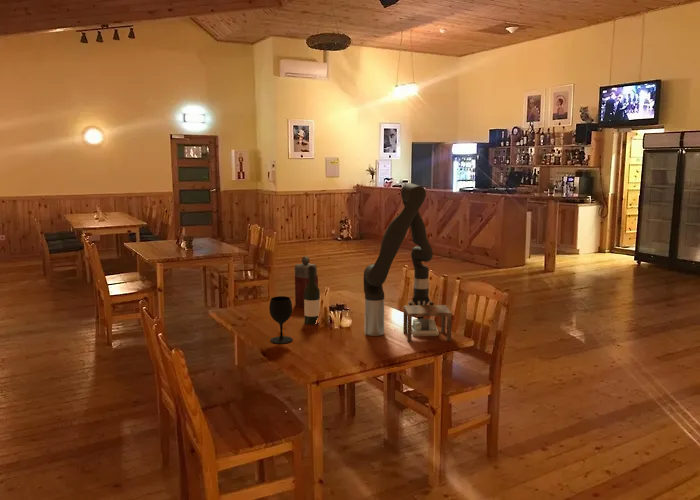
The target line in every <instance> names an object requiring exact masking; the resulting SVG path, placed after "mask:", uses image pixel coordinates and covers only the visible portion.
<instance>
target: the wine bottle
mask: <svg viewBox="0 0 700 500" xmlns="http://www.w3.org/2000/svg"><path fill="white" fill-rule="evenodd" d="M309 264H310V265H309V266H308V274H309V283H308V285H307V286H306V288H305V290H304V307H303V308H304V312H303V313H304V324H306V325H316V324H315V323H316V320H317V318H318V314H319V311H320V312H321V307H320V306H321V302H320V301H321V297H320V295H321V294H320V293H321V290H320V288H319V285H318V286H317V285H316V283H315V266H314V265H313V264H314V263H309Z"/></svg>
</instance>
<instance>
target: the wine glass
mask: <svg viewBox="0 0 700 500" xmlns="http://www.w3.org/2000/svg"><path fill="white" fill-rule="evenodd" d="M292 304H293V303H292V300H291V297H289V296H284V295H279V296H273V297H271V298H270V302H269V314H270V316H271V318H272V319H273V321H275V322H276V323H277V324H279V329H280V332H279V334H280V335H279V336H275V337H272V338H271V339H270V340H269V341H270V342H271V343H272V344H276V345H285V344H289V343H292V342H293V341H294V340H293V337H290V336H286V335H285V336H284V335H283V334H284V333H283V327H284V323H286V322H287V321H288V320H289V319H290V318H291V315H292V313H293V305H292Z"/></svg>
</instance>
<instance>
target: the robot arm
mask: <svg viewBox="0 0 700 500" xmlns="http://www.w3.org/2000/svg"><path fill="white" fill-rule="evenodd" d="M400 196H401V197H400V198H401V201H402V203H403V206H404V207H403V209H402V210H401V212H400V213H399V214H398V215H397V216H395V218H394V219H392V221H391V222H389V223H388V226H387V228H386V230H385V232H384V234H383V236H382V240H381V245H380V250H379V254H378V257H377V259H376V260H375V262H374V263H372V264H369V265H367V266H366V267H365V269H364V272H363V293H364V330H363V331H364V335H365V336H373V337H379V336H382V335H384V334H385V292H384V289H383V284H384V283H385V282H386V280H387V277H388V274H389V272H390V270H391V266H392V264H393V261H394V259H395V258H396V256H397V254H398V251H399V249H400V247H401V245H402V244H403V242H404V240H405V238H406V235H407V232H408V231H409V229H410V233H411V239H412V243H413V244H414V245H416V246H414V247H413V248H412V249H411V253H410V256H411V261H412V264H413V265H412V266H413V269H414V270H413V272H414V275H413V276H414V278H413V292H412V293H413V294H412V298H411V301H408V306H409V305H414V304H415V305H435V303H434V302H433V301H432V300H430V296H429V292H430V279H429V276H430V274H429V273H430V272H429V271H430V270H429V267H428V266H427V265H424V263H427V262H428V263H429V262H431V261H432V259H433V258H434V257H433V255H434V254H433V253H434V252H433V248H432V246H431V245H430V242H429V240H428V237H427V230H426V225H425V222H424V220H423V218H422V216H421V214H420V211H419V210H420V208H421V207H422V206H423V204H424V201H425V200H426V197H427V192H426V188H424V187H423V186H422V185H418V184H415V183H412V182H408V183H405V184H404V185H403V186H402V187H401V190H400ZM423 262H424V263H423ZM420 318H425V317H417V319H419V320H420Z"/></svg>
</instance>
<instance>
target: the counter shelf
mask: <svg viewBox="0 0 700 500" xmlns="http://www.w3.org/2000/svg"><path fill="white" fill-rule="evenodd" d="M452 315H453V313H452V311H451V310H450V309H449V307H448V306H447V305H446V304H433V305H428V304H427V305H409V304H408V305H403V329H402V330H403V332H402V333H403V334H404V335H406V334H407V336H406V337H407V338H406V339H407V340H406V341H407V343H412V333H411V331H412V325H413V319H412V318H415V317H416V318H418V317H424V318H425V317H426V318H427V317H428V318H429V317H441V320H440V321H441V322H440V323H441V325H440V327H441V328H440V331H441V334H445V333H446V342H452V320H453V319H452V318H453V316H452ZM446 319H447V321H446ZM446 323H447V324H446Z"/></svg>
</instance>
